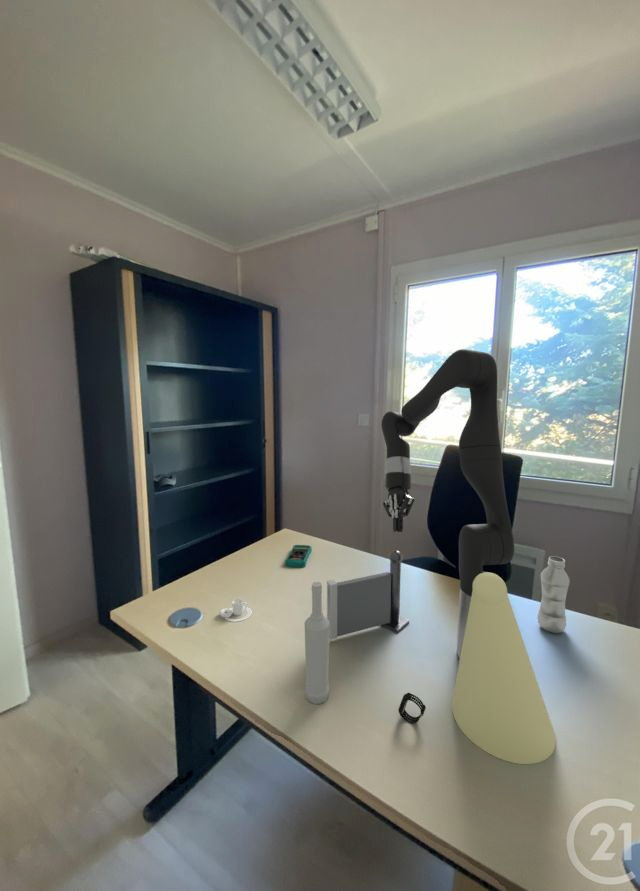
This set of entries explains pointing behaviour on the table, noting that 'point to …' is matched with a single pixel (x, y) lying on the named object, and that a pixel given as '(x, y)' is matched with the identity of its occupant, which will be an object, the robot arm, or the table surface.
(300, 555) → the digital multimeter
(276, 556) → the table surface
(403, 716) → the smartwatch
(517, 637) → the cone light
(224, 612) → the teacup and saucer
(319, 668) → the bottle
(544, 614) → the plastic bottle
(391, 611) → the gate post
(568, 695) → the table surface
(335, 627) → the gate
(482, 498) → the robot arm
